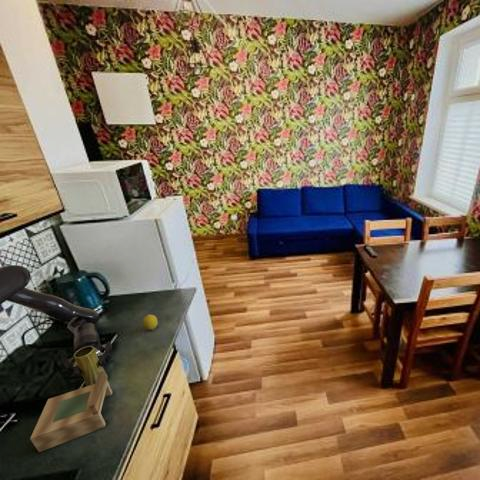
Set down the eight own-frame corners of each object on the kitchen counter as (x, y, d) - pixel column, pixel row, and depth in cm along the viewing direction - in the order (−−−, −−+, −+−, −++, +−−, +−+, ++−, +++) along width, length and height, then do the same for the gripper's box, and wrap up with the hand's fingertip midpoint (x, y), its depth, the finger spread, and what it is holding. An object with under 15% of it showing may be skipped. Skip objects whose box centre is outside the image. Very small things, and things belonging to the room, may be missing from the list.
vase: (84, 383, 94) (69, 353, 89) (104, 371, 99) (91, 342, 94) (90, 392, 91) (75, 361, 86) (111, 379, 96) (98, 349, 90)
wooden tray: (39, 452, 74) (23, 429, 70) (55, 412, 85) (42, 390, 81) (104, 426, 81) (93, 404, 77) (112, 392, 91) (103, 371, 88)
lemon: (143, 329, 120) (138, 315, 117) (156, 323, 124) (152, 309, 120) (148, 335, 116) (143, 321, 113) (161, 328, 120) (157, 314, 117)
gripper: (57, 344, 96) (57, 374, 84) (107, 326, 105) (113, 350, 93) (65, 360, 99) (66, 390, 87) (112, 340, 108) (119, 366, 96)
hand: (90, 369), depth 90 cm, fingers closed on vase, 5 cm apart
